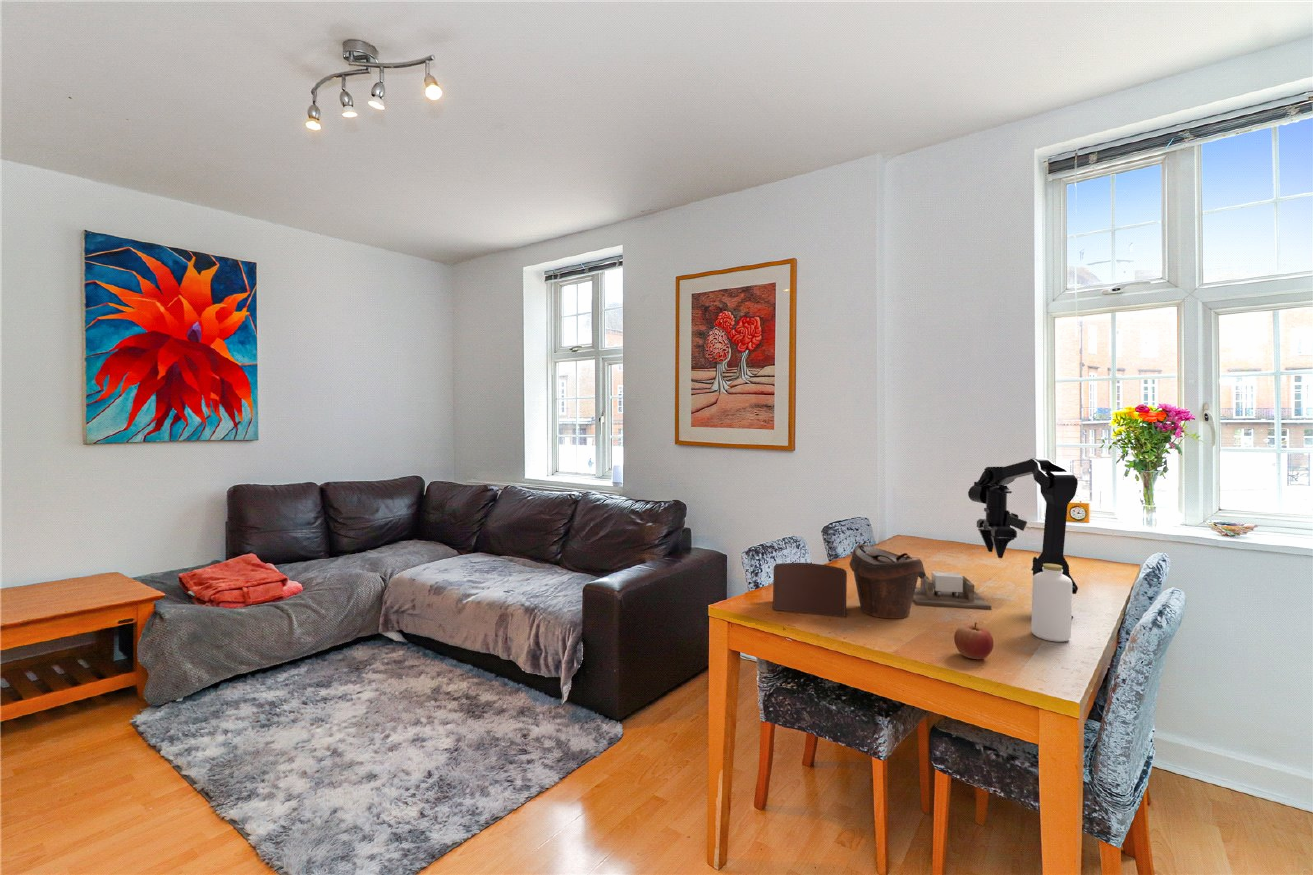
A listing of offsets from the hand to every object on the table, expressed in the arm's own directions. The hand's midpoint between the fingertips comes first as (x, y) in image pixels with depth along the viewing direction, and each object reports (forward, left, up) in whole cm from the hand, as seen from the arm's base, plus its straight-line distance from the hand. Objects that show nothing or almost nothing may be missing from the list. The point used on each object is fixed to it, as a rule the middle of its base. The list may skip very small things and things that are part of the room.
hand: (995, 554), depth 195 cm
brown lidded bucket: (-32, +38, -11) cm, 51 cm away
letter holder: (-33, +59, -11) cm, 69 cm away
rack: (-15, +18, -11) cm, 26 cm away
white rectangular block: (-15, +18, -8) cm, 25 cm away
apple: (-62, +24, -11) cm, 67 cm away
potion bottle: (-44, +1, -11) cm, 45 cm away
